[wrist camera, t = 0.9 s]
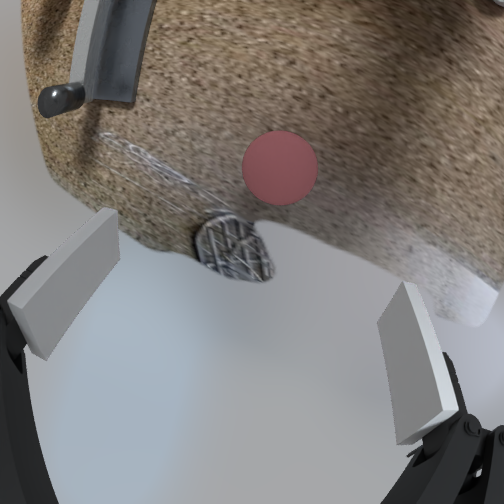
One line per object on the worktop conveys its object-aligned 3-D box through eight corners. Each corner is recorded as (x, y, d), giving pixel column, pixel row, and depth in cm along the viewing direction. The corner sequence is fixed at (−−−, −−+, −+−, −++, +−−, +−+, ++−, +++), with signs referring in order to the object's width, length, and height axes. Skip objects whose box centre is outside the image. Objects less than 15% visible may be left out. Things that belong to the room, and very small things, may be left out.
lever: (117, -61, 18) (79, -80, 10) (149, -66, 18) (114, -90, 10) (79, 103, 32) (33, 116, 25) (106, 106, 32) (62, 119, 25)
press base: (125, -63, 19) (115, -69, 17) (180, -70, 19) (173, -77, 17) (85, 96, 33) (74, 99, 31) (135, 101, 33) (124, 103, 31)
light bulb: (299, 184, 37) (299, 229, 27) (245, 163, 36) (225, 200, 26) (322, 133, 33) (334, 159, 23) (266, 111, 32) (252, 125, 22)
